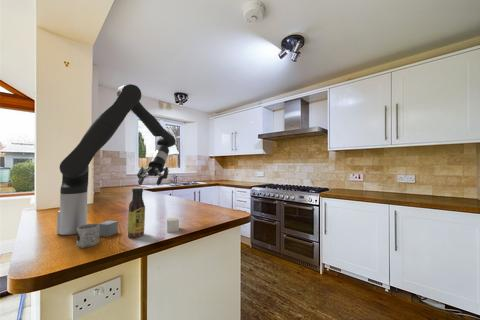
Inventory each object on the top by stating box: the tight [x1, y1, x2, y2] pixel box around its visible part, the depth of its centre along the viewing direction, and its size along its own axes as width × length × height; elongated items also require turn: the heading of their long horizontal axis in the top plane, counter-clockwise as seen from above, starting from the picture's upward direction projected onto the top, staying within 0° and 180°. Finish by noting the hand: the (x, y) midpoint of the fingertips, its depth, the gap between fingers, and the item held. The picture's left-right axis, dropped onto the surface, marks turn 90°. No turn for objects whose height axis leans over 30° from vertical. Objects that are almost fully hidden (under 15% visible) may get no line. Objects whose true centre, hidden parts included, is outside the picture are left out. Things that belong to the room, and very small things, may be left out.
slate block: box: [98, 220, 119, 238], centre depth 84 cm, size 5×5×5 cm
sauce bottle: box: [127, 187, 146, 239], centre depth 82 cm, size 6×6×20 cm
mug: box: [76, 223, 100, 249], centre depth 72 cm, size 10×7×7 cm
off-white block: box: [166, 216, 180, 233], centre depth 90 cm, size 5×5×5 cm
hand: (148, 184), depth 94 cm, fingers open, 8 cm apart
